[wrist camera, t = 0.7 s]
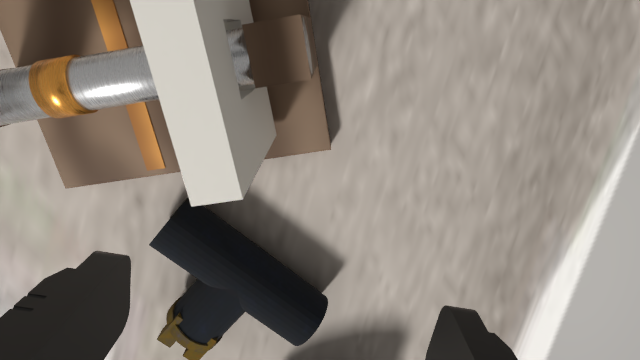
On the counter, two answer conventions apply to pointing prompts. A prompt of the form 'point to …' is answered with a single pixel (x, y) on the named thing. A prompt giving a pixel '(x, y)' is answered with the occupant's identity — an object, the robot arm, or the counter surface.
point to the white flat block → (206, 95)
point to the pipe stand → (147, 117)
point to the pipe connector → (230, 285)
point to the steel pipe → (95, 82)
